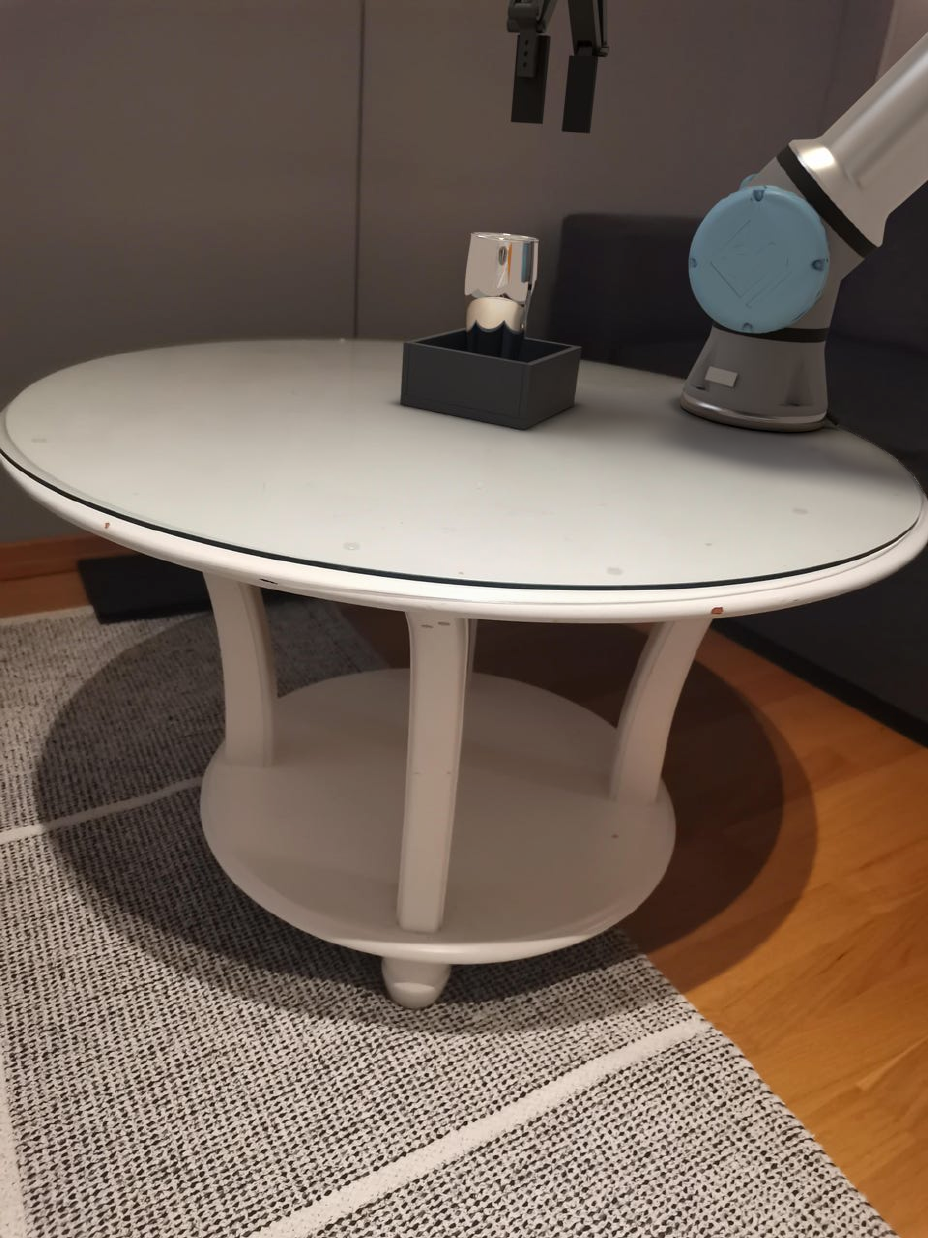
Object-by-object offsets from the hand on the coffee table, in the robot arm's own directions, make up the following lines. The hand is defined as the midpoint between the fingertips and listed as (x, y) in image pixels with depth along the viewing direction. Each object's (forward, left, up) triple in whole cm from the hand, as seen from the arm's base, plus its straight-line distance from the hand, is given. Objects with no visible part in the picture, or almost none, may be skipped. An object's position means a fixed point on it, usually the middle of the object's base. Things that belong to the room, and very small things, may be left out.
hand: (552, 128), depth 87 cm
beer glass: (+2, +4, -25) cm, 25 cm away
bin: (+2, +4, -25) cm, 26 cm away
